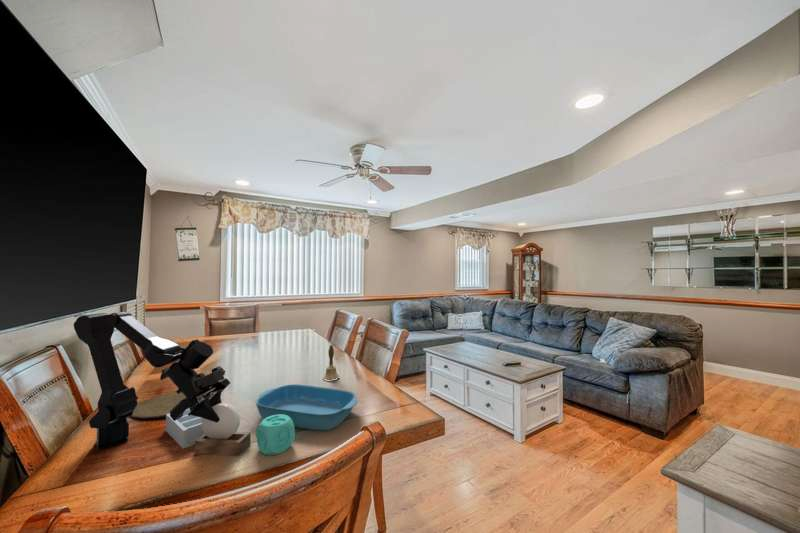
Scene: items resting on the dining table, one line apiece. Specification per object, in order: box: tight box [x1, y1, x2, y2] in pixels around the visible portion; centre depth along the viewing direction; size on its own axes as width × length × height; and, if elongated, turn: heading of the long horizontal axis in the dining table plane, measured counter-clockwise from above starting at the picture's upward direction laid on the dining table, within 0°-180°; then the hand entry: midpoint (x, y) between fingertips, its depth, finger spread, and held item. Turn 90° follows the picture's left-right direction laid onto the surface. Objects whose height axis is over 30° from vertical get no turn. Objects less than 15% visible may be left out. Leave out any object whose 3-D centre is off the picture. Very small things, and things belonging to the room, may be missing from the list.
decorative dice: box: [255, 414, 296, 456], centre depth 93 cm, size 8×8×8 cm
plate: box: [202, 402, 241, 440], centre depth 92 cm, size 2×10×10 cm, turn 86°
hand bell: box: [322, 344, 340, 380], centre depth 154 cm, size 8×8×16 cm
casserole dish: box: [255, 383, 359, 431], centre depth 113 cm, size 37×22×7 cm, turn 75°
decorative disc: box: [130, 390, 205, 420], centre depth 123 cm, size 29×3×30 cm
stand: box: [194, 431, 252, 456], centre depth 92 cm, size 13×6×4 cm, turn 86°
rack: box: [165, 408, 205, 450], centre depth 103 cm, size 15×17×5 cm
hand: (221, 419), depth 92 cm, fingers closed on plate, 2 cm apart
